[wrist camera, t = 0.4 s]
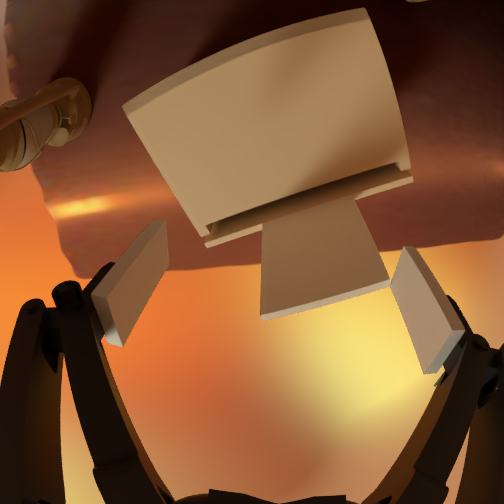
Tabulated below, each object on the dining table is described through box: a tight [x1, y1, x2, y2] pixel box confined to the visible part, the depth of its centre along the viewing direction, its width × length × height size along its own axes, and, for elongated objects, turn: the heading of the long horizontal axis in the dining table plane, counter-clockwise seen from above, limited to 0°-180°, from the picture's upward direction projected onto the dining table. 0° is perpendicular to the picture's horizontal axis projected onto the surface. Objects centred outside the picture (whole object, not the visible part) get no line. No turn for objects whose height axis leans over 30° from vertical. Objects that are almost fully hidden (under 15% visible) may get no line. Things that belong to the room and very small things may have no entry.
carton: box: [121, 8, 411, 237], centre depth 27 cm, size 14×20×16 cm
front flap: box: [204, 163, 413, 321], centre depth 27 cm, size 1×20×26 cm, turn 114°
